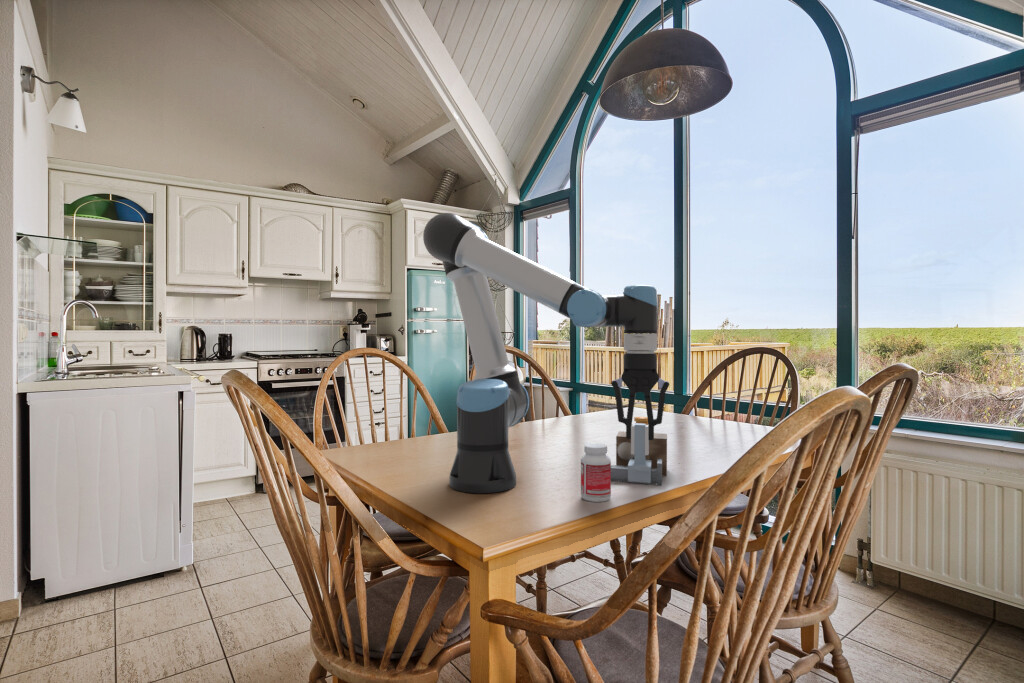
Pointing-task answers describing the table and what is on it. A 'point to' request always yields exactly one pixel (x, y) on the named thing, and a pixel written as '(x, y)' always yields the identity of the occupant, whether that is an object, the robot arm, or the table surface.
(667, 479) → the table surface
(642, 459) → the carriage
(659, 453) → the cabinet
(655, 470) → the grey u-shaped bracket
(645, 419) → the peg
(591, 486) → the pill bottle
